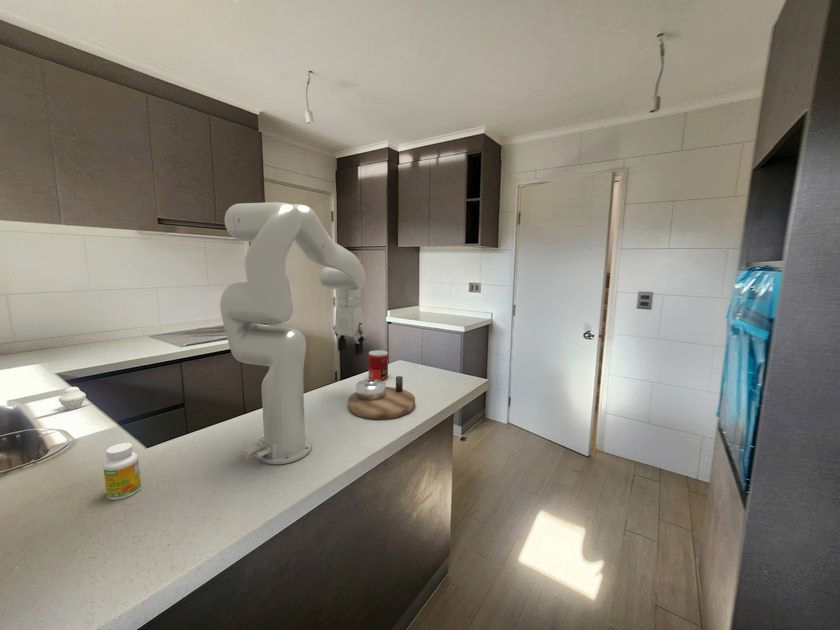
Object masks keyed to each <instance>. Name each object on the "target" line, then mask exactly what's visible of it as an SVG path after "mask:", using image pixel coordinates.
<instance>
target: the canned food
mask: <svg viewBox="0 0 840 630" xmlns="http://www.w3.org/2000/svg"><path fill="white" fill-rule="evenodd" d="M388 378H389V352H388V351H387V350H380V349H378V350H369V352H368V379H378V380H382V381H384V382H385V381H386V380H387V379H388Z"/></svg>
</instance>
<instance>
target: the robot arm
mask: <svg viewBox="0 0 840 630" xmlns="http://www.w3.org/2000/svg"><path fill="white" fill-rule="evenodd" d="M224 226H225V229H226V230H227V232H228V233H229V235H230V236H231V237H233V238H234V239H236V240H238V241H241V242H251V244H250V245H249V247H248V249H247V251H246V254H245V257H244V271H245V278H246V281H238V282H233V283H231V284H229V285H227V287H226V288H224V290H223V292H222V293H221V297H220V301H219V303H220V304H219V306H220V307H219V308H220V309H219V310H220V315H221V320H222V322H223V327H224V330H225V334H226V335H225V336H226V339H227V342H228V346H229V350H230V352H231V354H232V356H233V358H235V360H237V361H238V362H240V363H243V364H249V365H256V366H258V365H259V366H265V367H268V368H269V369H268V371H267V373H266V374H265V376H264V378H263V379H262V383H261V389H260V391H261V403H262V421H263V423H262V425H263V437H261V438H259V443H257V444H256V446H253V447H250V448H247V449H245V450H244V451H243V455H244V457H245V459H249V458H252V457H255V459H258V460H260V461H261V462H263V463H265V464H268V465H284V464H289V463H293V462H296V461H299V460H301V459H303V458H304V457H306V456H307V455H308V454H309V453H310V452H311V450H312V448H313V447H312V444H313V443H312V440H311V439H310V438H309V437H307V436H306V431H305V430H306V427H305V426H306V425H305V400H304V399H305V397H304V394H305V393H304V392H305V391H304V366H305V365H304V363H305V357H306V352H307V340H306V336H305V335H304V334H303V333H302V332H301V331H300V330H298V329H296V328H292V327H289V326H278V325H279V324H285V323H286V322H289V320H290V319H291V317H292V316H293V313H294V312H293V311H294V310H293V309H294V307H293V306H294V305H293V298H292V294H291V293H292V292H291V287H290V282H289V281H290V280H289V274H288V269H287V260H288V254H289V252H290V249H291V247H292V245H293V242H295V244H296V245H297V246H298V247H299V249H300V250H301V251H302V253H303V254H304V256H305V257H306V258H307V259H308V260H309V261H310V262H313V263H314V264H318V265H320V266H323V267H324V268H323V269H322V270H321V271H320V273H319V281H320V284H321V286H323V287H324V288H325V289H329V290H337V293H338V294H337V295H338V296H337V297H338V299H337V301H338V306H336V311H335V320H334V321H335V323H334V324H335V325H333V327H332V330H333V332H334V335H335V336H336V340H337V351H338V352H342V351H346V350H347V339H346V337H351V338H354V339H353V340H354V341H355V343H354V355H355V356H359V355H362V354H363V353H364V351H363V350H364V348H363V347H364V342H365V340H366V339H367V337H368V335H369V331H368V330H367V329H366V328H365V327H364V324H365V323H364V313H363V309H362V306H361V304H362V303H361V302H362V301H361V299H362V298H361V289H362V288H364V286H365V285H366V280H367V277H366V276H367V275H366V272H365V270H364V269H365V268H364V267H363V265H362V264H361V261H360V260H359V258H358V257H357V256H356V254H354V253H353V252H351V251H350V250H348V249H346V248H345V246H344V247H343V246H341V244H338V243H336V242H335V241H333V240H332V238H331V237H330V235H329V233H328V232H327V230H326V229H325V227H324V225H323V224H322V222H321V220H320V219H319V217H318V215H317V214H316V212H315V210H313V209H312V208H311V207H309V206H308V205H306V204H300V203H298V204H297V203H287V202H281V201H278V202H277V201H275V202H273V201H271V202H270V201H268V202H249V203H247V202H244V203H235V204H233V205H231V206H230V207H228V209H227V210H226V212H225V215H224ZM262 324H263V325H262Z"/></svg>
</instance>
